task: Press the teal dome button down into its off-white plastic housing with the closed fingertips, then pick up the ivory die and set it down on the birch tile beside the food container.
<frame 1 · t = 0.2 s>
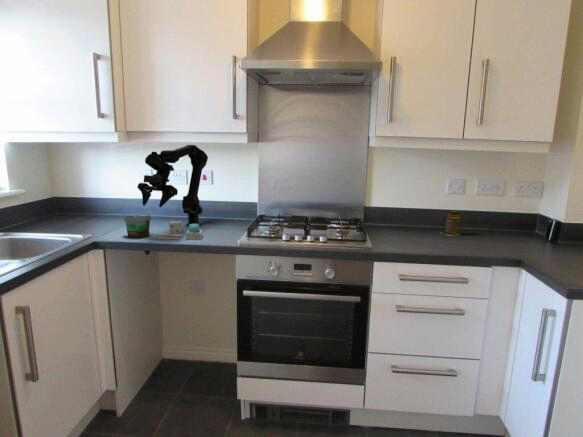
hand: (151, 206, 167), 15 cm above the worktop, tool tilted 30°, fingers open, 9 cm apart
condiment: (449, 234, 193), on the worktop
food container: (136, 237, 171), on the worktop
die: (176, 232, 182), on the worktop
dome base: (194, 237, 173), on the worktop
birch tile: (169, 236, 173), on the worktop
dome button: (194, 228, 172), point 4 cm above the worktop, slide at 0.0 cm
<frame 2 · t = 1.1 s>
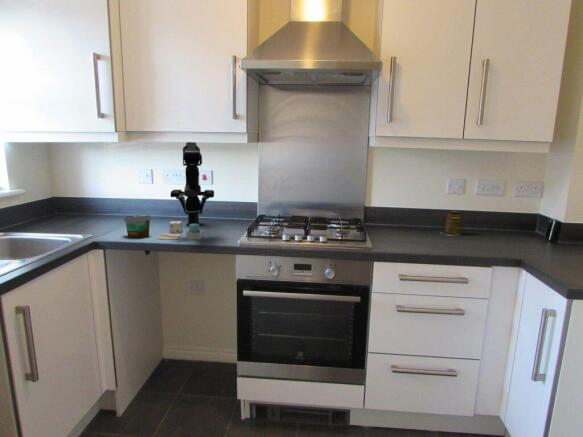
hand: (193, 212, 170), 12 cm above the worktop, tool pointing down, fingers open, 7 cm apart
nothing on the worktop moved.
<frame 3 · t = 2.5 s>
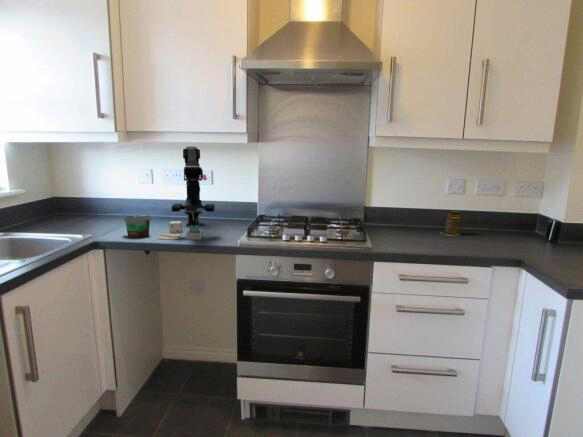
hand: (194, 226, 172), 6 cm above the worktop, tool pointing down, fingers closed, pressing on dome button
dome button: (194, 230, 172), point 4 cm above the worktop, slide at 0.7 cm, touching gripper
everything else where it was.
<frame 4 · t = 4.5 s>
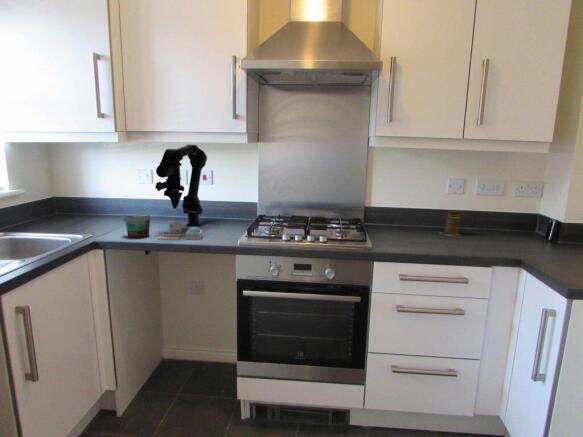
hand: (175, 208, 180), 12 cm above the worktop, tool pointing down, fingers open, 3 cm apart
dome button: (194, 231, 172), point 3 cm above the worktop, slide at 1.4 cm
everything else where it was.
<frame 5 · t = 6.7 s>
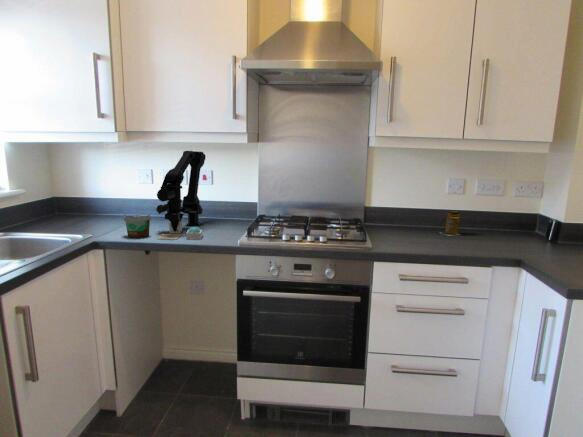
hand: (175, 229, 182), 1 cm above the worktop, tool pointing down, fingers closed on die, 5 cm apart
die: (176, 232, 182), on the worktop, touching gripper
everything else where it was.
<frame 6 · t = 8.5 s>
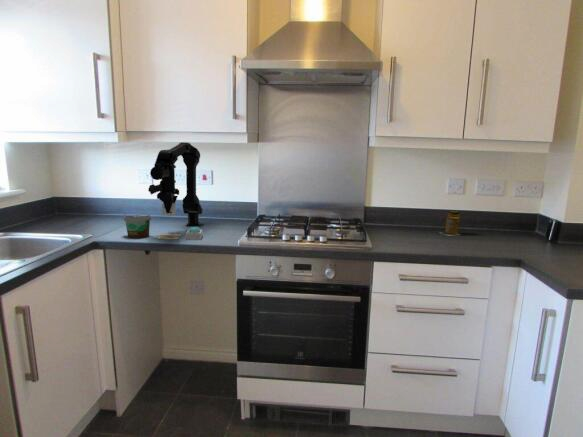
hand: (169, 212, 172), 12 cm above the worktop, tool pointing down, fingers closed on die, 5 cm apart
die: (169, 214, 172), point 11 cm above the worktop, touching gripper
everything else where it was.
when the fingers open (2 cm above the worktop, at t = 10.6 s): die drops 1 cm, resting on birch tile.
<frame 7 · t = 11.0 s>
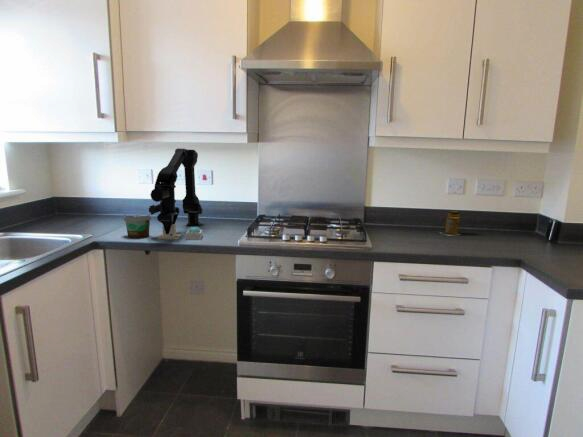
hand: (169, 231, 172), 2 cm above the worktop, tool pointing down, fingers open, 9 cm apart
die: (169, 236, 173), resting on birch tile
everything else where it was.
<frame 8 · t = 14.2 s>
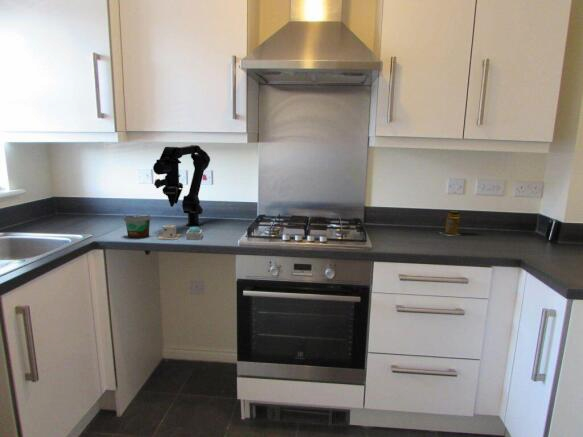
hand: (173, 205, 182), 13 cm above the worktop, tool pointing down, fingers open, 9 cm apart
nothing on the worktop moved.
at the end: dome button slide at 1.4 cm; die inside the target area on the birch tile (0.1 cm from its centre), point 0.3 cm above the birch tile's base; die tilted 0° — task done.
